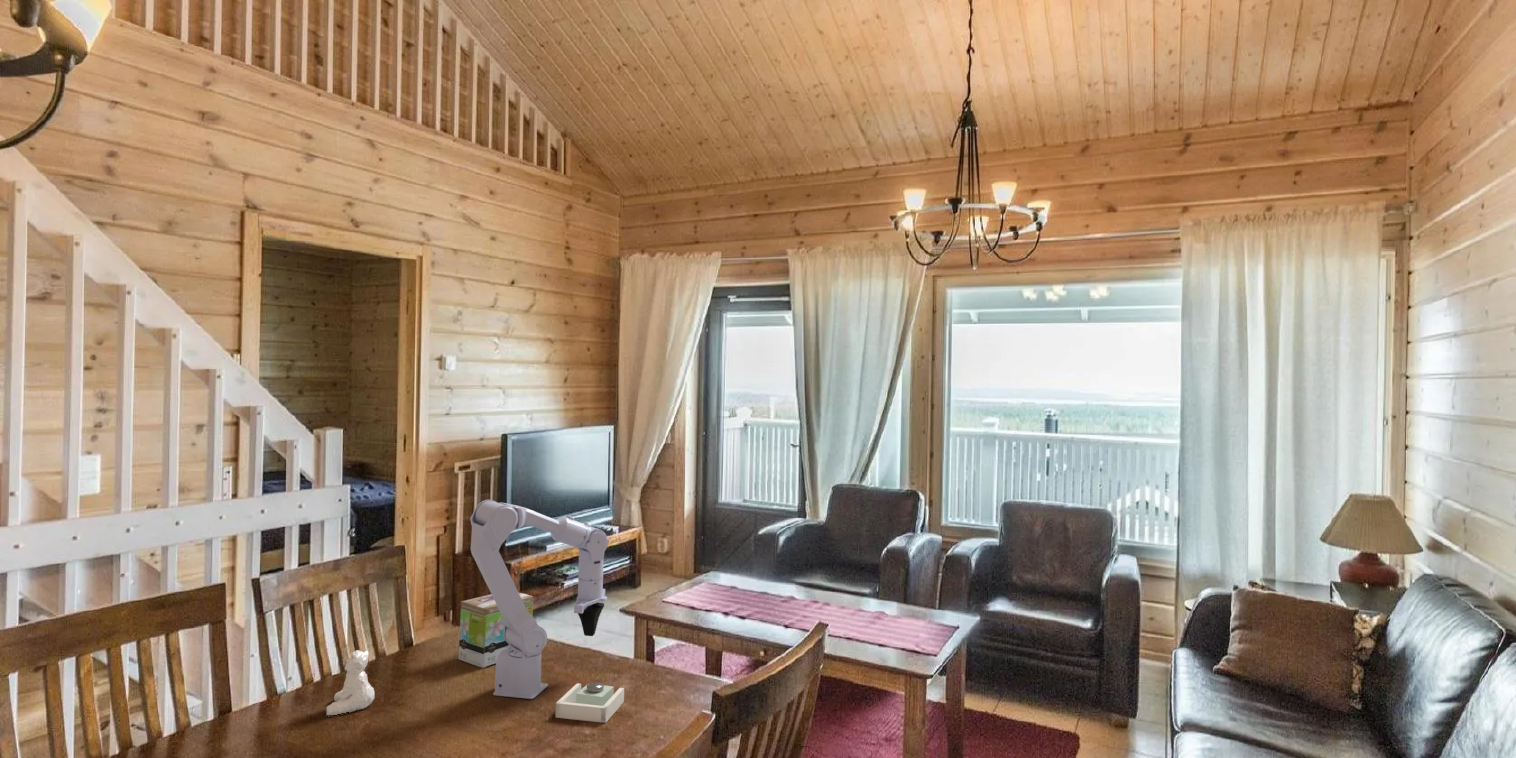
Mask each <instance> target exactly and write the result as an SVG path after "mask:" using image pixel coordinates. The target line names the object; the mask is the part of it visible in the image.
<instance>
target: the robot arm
mask: <svg viewBox="0 0 1516 758" xmlns="http://www.w3.org/2000/svg"><path fill="white" fill-rule="evenodd" d="M469 521H470V525H471V534H470V535H471V537H470V538H471V540H470V553H471V556H472V557H473V559H474V561H475V563H476V565H477V568H478V569H479V572H480V573H481V576H482V578H483V580H484V582H485V584H486V586H487V587H488V590H489V593H490V594H492V596H493V598H494V600H495V602H496V604H497V606H498V608H499V610H500V612H501V614H502V616H503V619H502V621H501V623H502V625H503V628H504V639H505V641H506V642H507V643H508V644H509V648H508V650H503V651H501V652H500V654H499V655H498V658H497V661H496V663H495V672H494V673H495V675H494V676H495V677H494V678H495V679H494V691H493V693H492V694H493V696H497V697H505V698H506V697H507V698H508V697H509V698H518V699H526V700H527V699H528V700H533V699H535V698H536V697H537V696H538V695H540V694H541V693H542V692H543V691H544V690H545V689H546V688H547V687H548V686H549V684H548V683H543V682H542V651H543V650H544V648H545V647H546V646H547V643H548V634H547V631H546V630H545V628H543V627H541V626H540V625H539V624H538V623H537V621H536V619H535V618H534V616H533V617H532V615H531V614H530V613H529V612H528V611H527V609H526V607H525V605H524V603H523V601H522V599H521V597H520V595H519V593H520V592H519V591H518V589H517V586H516V584H515V583H514V581H513V578H512V576H511V574H510V572H509V570H508V567H507V566H506V564H505V561H504V559H503V557H502V555H501V553H500V548H501V546H502V544H503V543H504V542H505V541H506V540H507V538H509V536H510V535H511V534H512V532H513V531H514V530H515V528H517V529H520V528H522V527H524V526H525V525H526V526H529V527H532V528H535V529H538V530H542V531H545V532H548V533H550V535H551V538H552V540H553V541H556V542H559V543H562V544H565V545H566V546H571V547H573V548H576V549H578V579H577V581H578V585H577V586H578V587H577V596H576V600H575V601H576V602H575V603H574V605H573V613H574V614H577V615H578V616H579V620H580V621H581V622H580V623H581V627H582V630H583V631H582V632H583V635H584V636H585V637H593V636H595V634H596V630H597V626H598V623H599V618H600V616H601V613H602V611H603V609H604V608H605V603H603V602H606V601H607V600H608V596H606V588H603V587H604V585H603V583H604V558H605V553H606V552H605V551H606V550H607V548H608V546H609V543H610V540H609V539H608V536H607V534H606V533H605V531H604V530H602V529H599V528H596V527H593V526H591V524H590V523H588V522H584V523H583V522H580V521H577V520H576V519H575V517H574V516H571V515H569V514H568V515H566V516H559V517H558V518H555V519H554V518H552V517H549V516H547V515H544V514H542V513H539V512H537V511H535V510H532V509H530V508H527V507H523V506H521V505H516V504H512V503H507V502H506V503H505V502H502V501H500V502H497V501H495V500H493V499H485V500H482V501H481V502H479V503H478V504H477V505H476V506H475V508H474V510H473V513H472V514H471V515H470V518H469ZM518 592H519V593H518Z"/></svg>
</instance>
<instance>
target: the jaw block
mask: <svg viewBox="0 0 1516 758" xmlns="http://www.w3.org/2000/svg"><path fill="white" fill-rule="evenodd" d="M614 689H615V688H614V686H611V685H605V684H604V683H602V682H599V681H595V682H590V683H587V684H586V685H585V686H584V687H581V690H580V691H579V692H577V693H576V703H580V704H589V705H599V706H603V705H604V704H605V703H606V702H607V701H608V700H609V699H610V698H611V697H612V696H613V695H614V694H615V692H614Z"/></svg>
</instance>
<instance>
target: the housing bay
mask: <svg viewBox="0 0 1516 758" xmlns="http://www.w3.org/2000/svg"><path fill="white" fill-rule="evenodd" d="M581 689H582V683H576V684H575V685H574V686H573V687H572V688H570V689H569V690H568V691H567V692H566V693H565V694H564V695H563V696H562V697H560V698H559V700H557V701H556V702H555V714H554V715H555V718H557V719H559V718H560V719H565V720H566V719H567V720H575V721H576V720H577V721H586V722H594V723H603V724H604V723H605V724H606V723H607V722H608V720H610V719H611V717H612V716H613V715H614V714H615V712H617V710H618V709H619V708H620V707H621V706H622V705H623V703H624V702H625V688H624V687H619V688H618V689H617V690H616V691H615V692H614V695H613V696H612V697H611V698H610V699H609V700H608V701H607V702H606V703H605V704H604V705H603V706H599V705H589V704H580V703H576V693H577V692H579V691H580V690H581ZM621 704H622V705H621Z"/></svg>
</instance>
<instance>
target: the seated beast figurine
mask: <svg viewBox="0 0 1516 758" xmlns="http://www.w3.org/2000/svg"><path fill="white" fill-rule="evenodd" d="M369 656H370V653H369V651H368V650H365V651H362V650H360V649H358V650H357V649H356V650H355V651H352V653H351V656H350V657H349V658H347V659H346V665H345V667H344V670H345V671H346V673H345V679H344V682H343V686H342V689H341V690H340V691H337V692H336V693H335V694H334V698H333V699H334V700H333V701H334V702H333V701H332V703H331V704H329V705H327V706H326V707H325V708H326V709H325V710H326V716H327V715H337V714H341V713H345V714H347V713H346V712H349V713H353V712H357V711H360V710H361V709H362V710H365V709H366V708H368V707H369V705H371V704H372V703H373V701H374V700H375V694H376V693H375V690H374V689H375V687H373V686H372V685H371V684H370V682H369V679H368V674H367V673H366V671H365V669H366V667H367V666H368V664H369V663H368V662H369ZM356 710H357V711H356ZM341 715H342V714H341ZM337 716H338V715H337Z"/></svg>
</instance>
